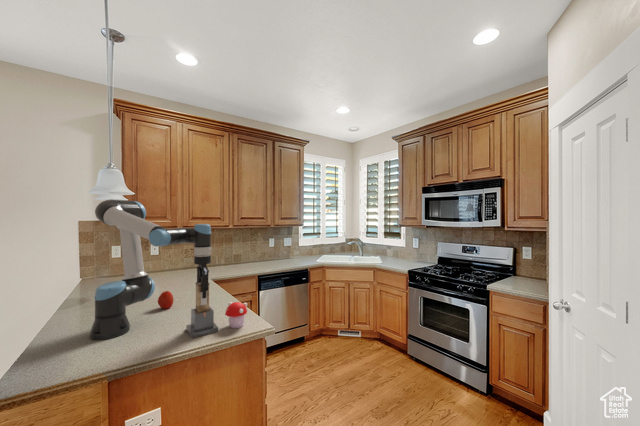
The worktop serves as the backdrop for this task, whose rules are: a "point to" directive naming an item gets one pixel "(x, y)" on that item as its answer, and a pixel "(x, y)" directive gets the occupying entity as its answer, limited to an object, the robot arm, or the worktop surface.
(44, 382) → the worktop surface
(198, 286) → the post
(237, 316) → the mushroom
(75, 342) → the worktop surface
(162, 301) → the apple
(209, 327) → the sleeve
